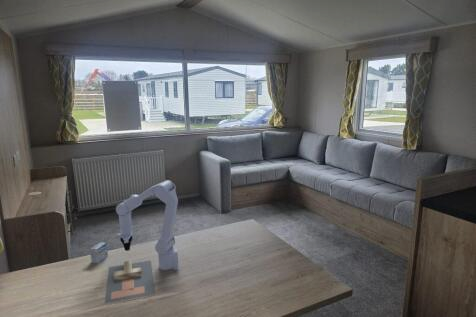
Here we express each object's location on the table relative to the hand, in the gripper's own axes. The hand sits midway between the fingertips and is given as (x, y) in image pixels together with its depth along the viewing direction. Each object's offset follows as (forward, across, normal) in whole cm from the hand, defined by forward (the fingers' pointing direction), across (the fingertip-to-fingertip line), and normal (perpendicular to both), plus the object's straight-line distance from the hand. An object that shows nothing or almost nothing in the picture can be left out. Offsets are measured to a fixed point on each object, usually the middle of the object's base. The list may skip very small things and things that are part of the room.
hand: (127, 250), depth 159 cm
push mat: (+7, +19, +1) cm, 20 cm away
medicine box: (+7, -6, -14) cm, 17 cm away
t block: (+6, +13, 0) cm, 14 cm away
